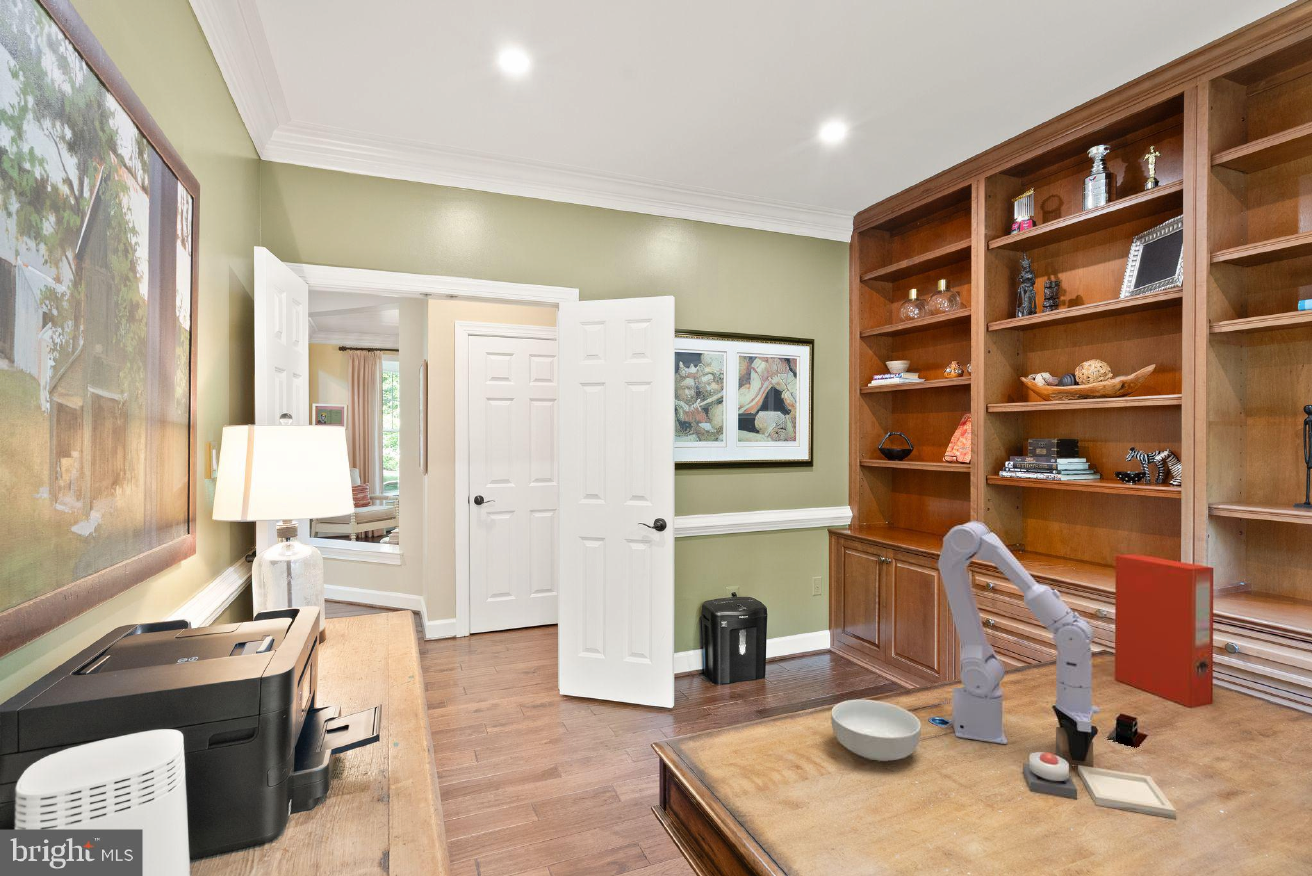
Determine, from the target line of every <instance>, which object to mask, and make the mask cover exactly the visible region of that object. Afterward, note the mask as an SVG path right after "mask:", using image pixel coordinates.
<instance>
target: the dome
mask: <svg viewBox="0 0 1312 876" xmlns="http://www.w3.org/2000/svg"><path fill="white" fill-rule="evenodd" d="M1028 763H1029V768H1030V770H1031V771H1032V772H1033V773H1035V774H1036V775H1038V776H1040V777H1041V780H1044V781H1050V782H1056V783H1057V781H1064V780H1067V779H1068V778H1069V775H1070V765H1069V764H1068V762H1067V761H1066V760H1064V759H1062V758H1061V757H1058V755H1057V754H1056V755H1055V754H1053V753H1051V752H1043V751H1042V752H1041V751H1037V752H1032V753H1030V754H1029V761H1028Z"/></svg>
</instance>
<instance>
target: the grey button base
mask: <svg viewBox="0 0 1312 876" xmlns="http://www.w3.org/2000/svg"><path fill="white" fill-rule="evenodd" d="M1022 773H1023V775H1024V777H1025V780H1026V783H1027V785H1028V788H1029V790H1030V792H1034V793H1035V792H1036V793H1041V794H1047V795H1052V796H1057V797H1064V798H1070V799H1076V800H1077V799H1078V788H1077V787H1076V784H1075V783H1074V781H1073V779H1072V777H1071V775H1070V774H1069V778H1068V779H1067V780H1064V781H1057V783H1056V782H1050V781H1044V780H1041V777H1040V776H1038V775H1036V774H1035V773H1033V772H1032V771H1031V770H1030V768H1029V762H1028V763H1027V762H1022Z"/></svg>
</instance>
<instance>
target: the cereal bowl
mask: <svg viewBox="0 0 1312 876" xmlns="http://www.w3.org/2000/svg"><path fill="white" fill-rule="evenodd" d="M830 721H831V727H832V731H833V734H834V736H835V737H836V739H837V740H838V742H839V743H840V744H841V745H842V746H843V747H845V748H846V749H847V750H849V751H851V752H852V753H854V754H856V755H860V756H859V757H861V756H862V757H861V758H863V757H864V758H863V759H866V758H868V759H867V760H869V759H871V760H870V761H872V760H878V761H877V762H880V761H884V762H889V761H888V760H890V761H896V760H900V759H904V758H906V757H908V756H910V755H912V754H913V752H915V751H916V750H917V748H918V746H919V743H920V739H921V733H922V724H921V722H920V720H919V719H918V717H917V716H916V715H915V714H913V713H912V712H910V711H909V710H907V709H905V708H903V707H900V706H897V705H894V704H892V703H888V702H885V701H879V700H872V699H849V700H845V701H841V702H839V703H837V704H835V705H834V706H833V707H832V710H831V712H830Z"/></svg>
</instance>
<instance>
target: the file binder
mask: <svg viewBox="0 0 1312 876" xmlns="http://www.w3.org/2000/svg"><path fill="white" fill-rule="evenodd" d="M1114 585H1115V588H1114V591H1115V599H1114V600H1115V601H1114V603H1115V604H1114V605H1115V606H1114V607H1115V608H1114V610H1115V611H1114V613H1115V614H1114V617H1115V619H1114V626H1115V627H1114V629H1115V630H1114V643H1115V644H1114V680H1115V681H1118V682H1121V683H1122V684H1123V683H1124V684H1126V685H1129V686H1131V687H1134V688H1136V689H1140V690H1142V691H1145V692H1147V693H1151V694H1152V695H1153V694H1154V695H1156V696H1158V697H1161V698H1163V699H1166V700H1169V701H1172V702H1175V703H1178V704H1180V705H1183V706H1186V707H1188V708H1196V707H1201V706H1208V705H1209V706H1210V705H1213V704H1214V703H1213V702H1214V701H1213V699H1214V690H1213V689H1214V688H1213V687H1214V567H1211V566H1205V565H1200V564H1195V563H1189V562H1182V561H1176V560H1171V559H1165V558H1160V557H1153V556H1149V555H1148V556H1147V555H1142V554H1138V553H1137V554H1135V553H1133V554H1119V555H1115V584H1114Z"/></svg>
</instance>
